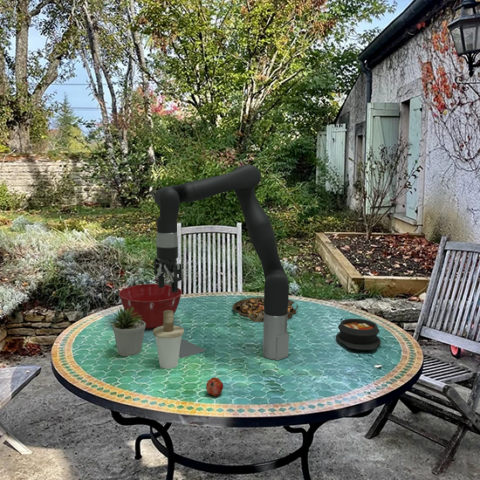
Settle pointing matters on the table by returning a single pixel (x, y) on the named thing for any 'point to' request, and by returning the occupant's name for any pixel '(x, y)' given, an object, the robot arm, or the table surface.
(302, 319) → the table surface
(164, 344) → the foam cup
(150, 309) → the mixing bowl
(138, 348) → the potted plant
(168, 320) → the lid
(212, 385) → the pomegranate
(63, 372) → the table surface
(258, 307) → the food dish
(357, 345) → the casserole
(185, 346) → the mat
